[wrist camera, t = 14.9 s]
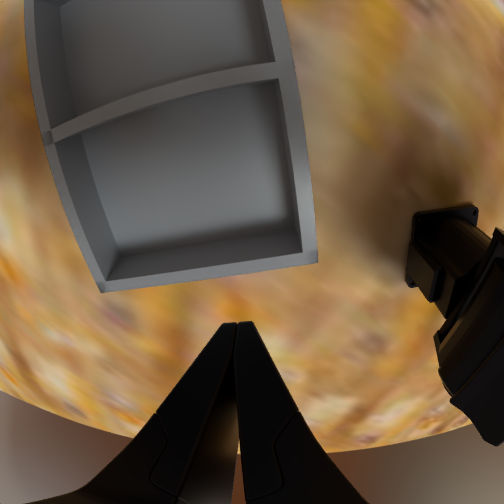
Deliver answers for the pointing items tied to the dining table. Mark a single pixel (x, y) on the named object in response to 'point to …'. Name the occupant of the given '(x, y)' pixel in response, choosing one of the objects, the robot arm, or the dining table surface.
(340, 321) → the dining table surface
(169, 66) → the grey compartment tray
